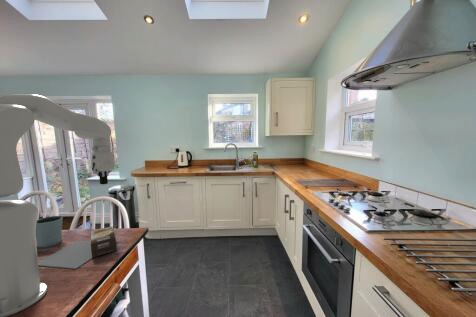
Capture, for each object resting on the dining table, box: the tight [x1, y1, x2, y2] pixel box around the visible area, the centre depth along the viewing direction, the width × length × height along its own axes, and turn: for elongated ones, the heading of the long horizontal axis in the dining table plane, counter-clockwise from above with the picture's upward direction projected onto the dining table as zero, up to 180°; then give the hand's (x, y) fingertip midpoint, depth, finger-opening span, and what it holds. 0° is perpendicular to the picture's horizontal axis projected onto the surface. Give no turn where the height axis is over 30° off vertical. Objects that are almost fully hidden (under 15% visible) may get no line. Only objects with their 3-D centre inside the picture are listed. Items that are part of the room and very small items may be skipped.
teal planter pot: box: [36, 215, 64, 248], centre depth 94 cm, size 10×10×12 cm
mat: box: [38, 240, 95, 270], centre depth 84 cm, size 19×20×1 cm
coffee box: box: [90, 225, 117, 259], centre depth 88 cm, size 9×6×16 cm
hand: (103, 183), depth 100 cm, fingers closed
